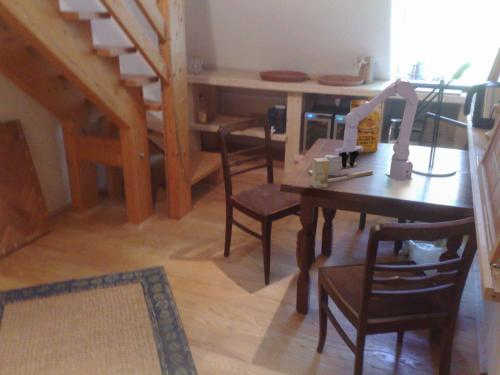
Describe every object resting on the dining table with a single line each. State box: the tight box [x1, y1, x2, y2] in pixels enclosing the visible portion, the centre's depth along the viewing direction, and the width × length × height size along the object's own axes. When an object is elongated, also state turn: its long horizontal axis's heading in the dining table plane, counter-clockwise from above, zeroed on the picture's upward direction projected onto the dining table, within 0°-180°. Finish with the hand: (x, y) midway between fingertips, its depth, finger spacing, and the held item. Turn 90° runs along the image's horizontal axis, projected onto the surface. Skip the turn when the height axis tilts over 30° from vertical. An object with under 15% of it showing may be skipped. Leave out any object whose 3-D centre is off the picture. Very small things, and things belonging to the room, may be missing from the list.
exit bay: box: [308, 169, 348, 183], centre depth 204 cm, size 14×12×1 cm
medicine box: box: [324, 154, 342, 177], centre depth 204 cm, size 8×4×9 cm, turn 77°
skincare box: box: [310, 157, 330, 189], centre depth 190 cm, size 6×4×12 cm
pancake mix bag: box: [349, 98, 383, 154], centre depth 235 cm, size 7×19×28 cm, turn 99°
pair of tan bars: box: [341, 162, 374, 179], centre depth 209 cm, size 13×14×2 cm
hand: (347, 166), depth 207 cm, fingers open, 4 cm apart
